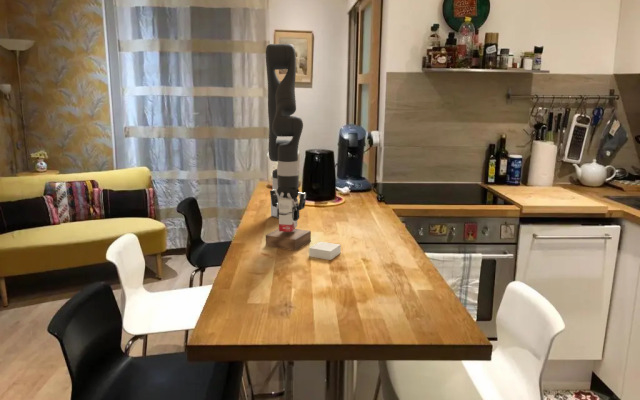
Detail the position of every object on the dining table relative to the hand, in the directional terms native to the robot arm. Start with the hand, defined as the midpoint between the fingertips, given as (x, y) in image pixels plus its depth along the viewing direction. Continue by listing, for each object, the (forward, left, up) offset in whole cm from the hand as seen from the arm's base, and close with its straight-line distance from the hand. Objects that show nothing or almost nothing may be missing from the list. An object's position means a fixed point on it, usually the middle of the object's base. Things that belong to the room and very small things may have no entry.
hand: (288, 219), depth 186 cm
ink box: (0, 0, -4) cm, 4 cm away
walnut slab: (0, 0, -9) cm, 9 cm away
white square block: (+17, -5, -9) cm, 20 cm away
